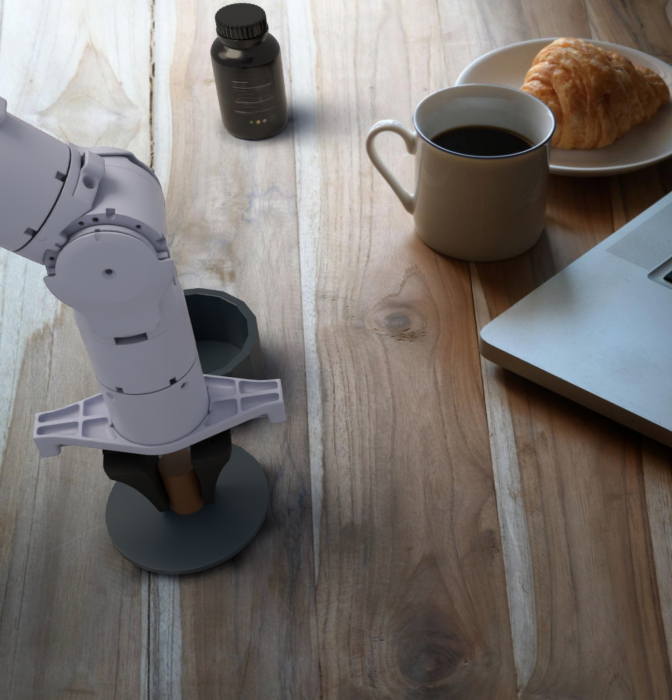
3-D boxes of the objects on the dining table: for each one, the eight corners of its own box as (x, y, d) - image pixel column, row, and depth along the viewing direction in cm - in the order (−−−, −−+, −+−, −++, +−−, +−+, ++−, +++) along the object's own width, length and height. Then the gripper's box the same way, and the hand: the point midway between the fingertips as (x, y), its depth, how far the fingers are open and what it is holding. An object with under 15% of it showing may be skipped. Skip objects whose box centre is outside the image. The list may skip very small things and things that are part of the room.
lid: (106, 593, 59) (85, 548, 55) (111, 459, 66) (92, 411, 63) (277, 563, 61) (268, 518, 57) (263, 436, 68) (254, 388, 65)
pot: (131, 444, 67) (114, 395, 64) (133, 346, 74) (117, 297, 70) (271, 423, 69) (262, 374, 65) (260, 330, 76) (252, 280, 72)
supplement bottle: (218, 110, 98) (199, 0, 89) (282, 101, 100) (270, -7, 91) (227, 146, 94) (208, 34, 85) (294, 136, 95) (283, 26, 87)
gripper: (268, 293, 57) (289, 433, 67) (17, 325, 54) (77, 465, 64) (279, 378, 52) (300, 515, 62) (4, 417, 50) (72, 553, 59)
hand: (187, 495), depth 63 cm, fingers closed on lid, 2 cm apart
